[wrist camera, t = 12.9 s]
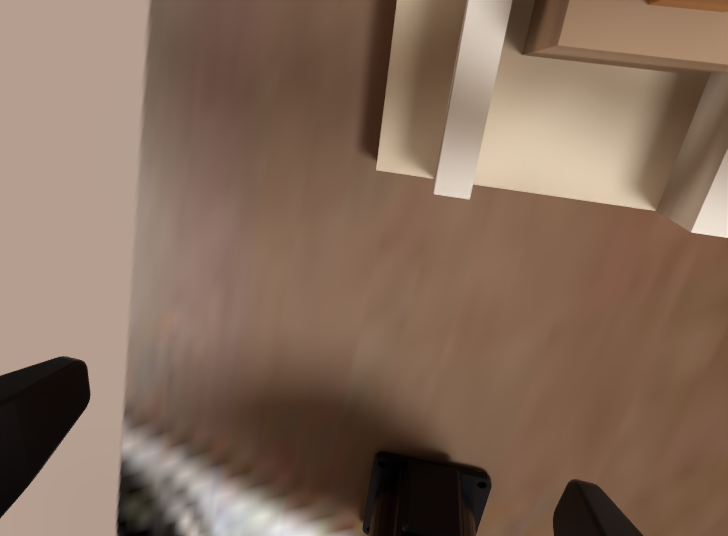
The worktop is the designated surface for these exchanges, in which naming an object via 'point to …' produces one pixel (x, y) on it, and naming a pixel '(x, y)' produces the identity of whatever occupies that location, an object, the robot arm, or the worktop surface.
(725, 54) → the tan wooden block
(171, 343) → the worktop surface
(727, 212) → the lane tray
